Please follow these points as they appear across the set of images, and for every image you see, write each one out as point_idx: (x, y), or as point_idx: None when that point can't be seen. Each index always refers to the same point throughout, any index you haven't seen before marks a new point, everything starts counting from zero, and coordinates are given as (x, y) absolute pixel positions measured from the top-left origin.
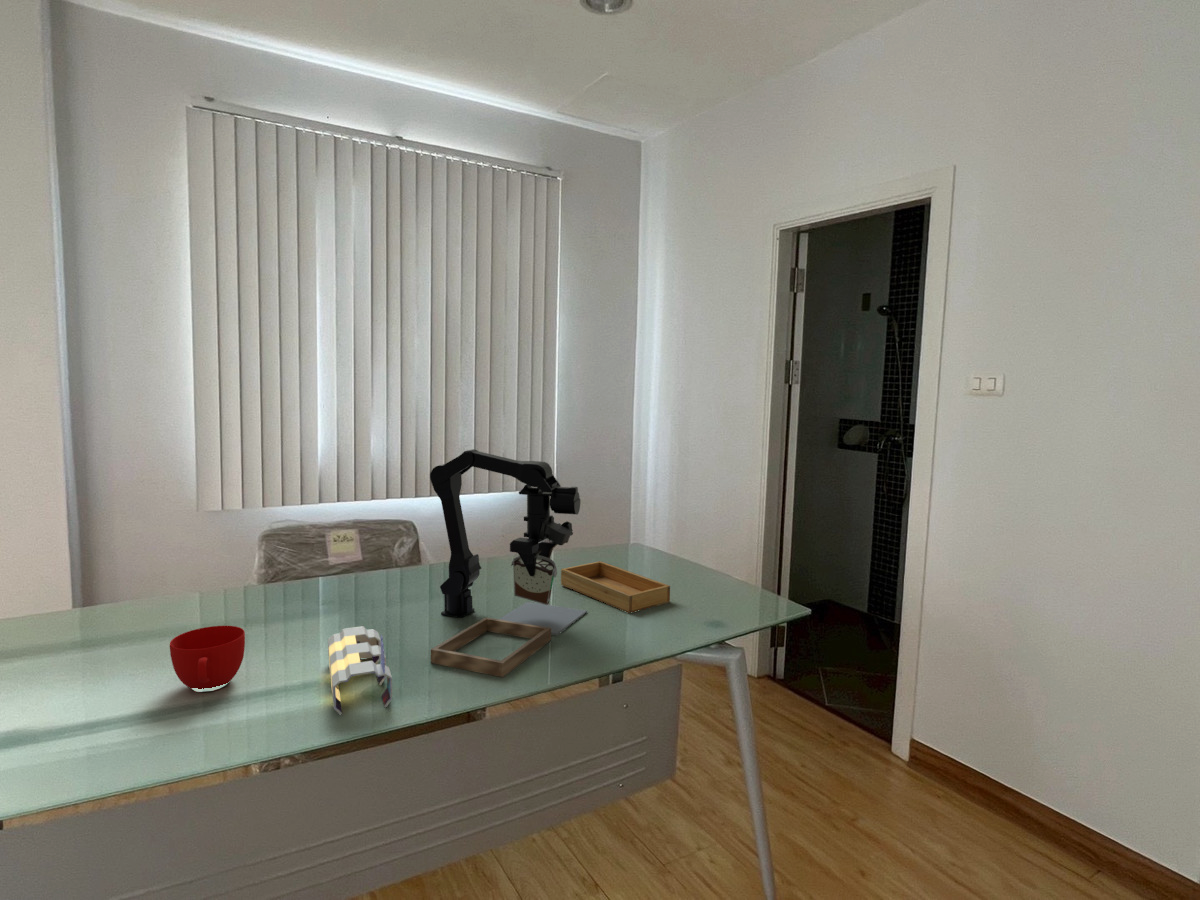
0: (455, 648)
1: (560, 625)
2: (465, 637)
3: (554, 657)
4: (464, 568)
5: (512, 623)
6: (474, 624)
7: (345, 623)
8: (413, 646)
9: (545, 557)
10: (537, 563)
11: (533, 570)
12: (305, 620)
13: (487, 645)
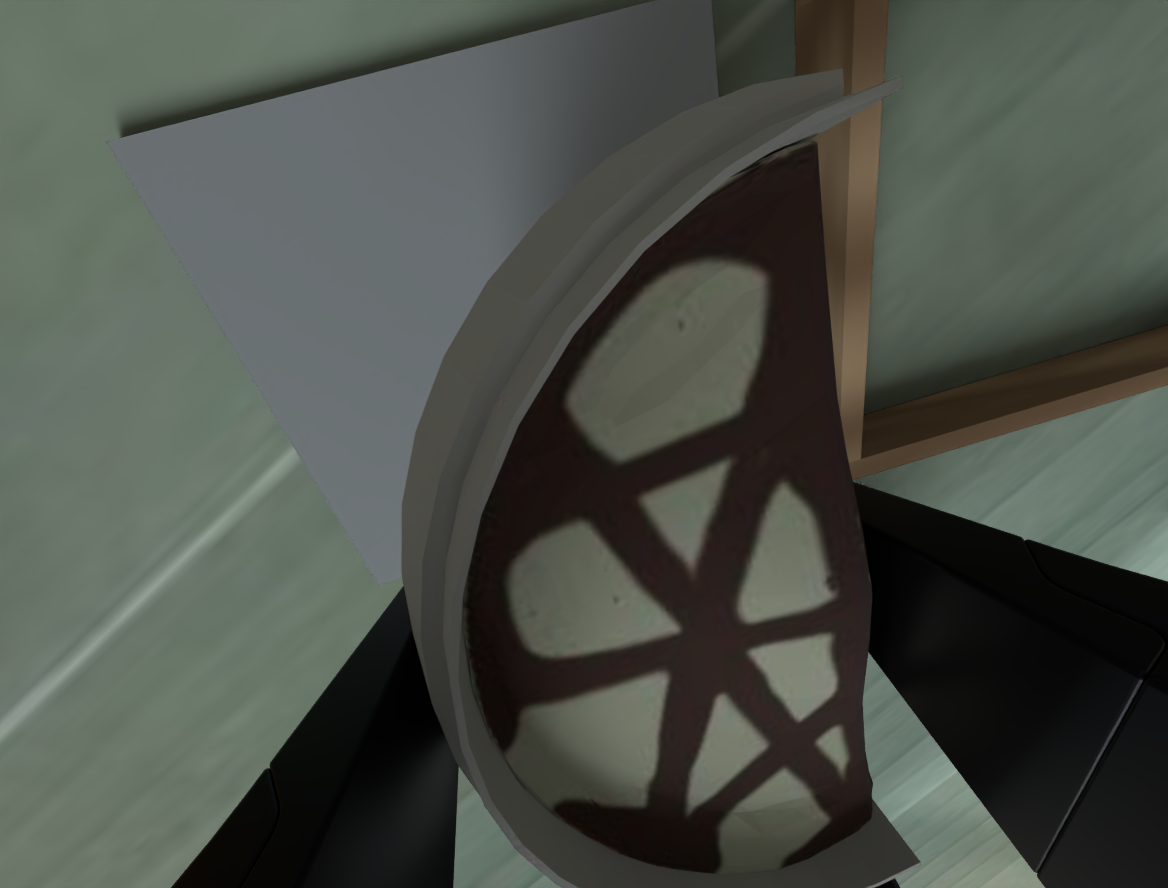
0: (1085, 355)
1: (556, 92)
2: (1032, 386)
3: None
4: (896, 881)
5: (868, 295)
6: (952, 445)
7: (926, 754)
8: (1056, 504)
9: (473, 748)
10: (704, 643)
11: (889, 498)
12: (937, 806)
13: (985, 282)
